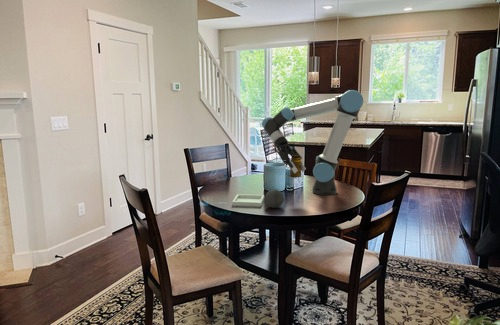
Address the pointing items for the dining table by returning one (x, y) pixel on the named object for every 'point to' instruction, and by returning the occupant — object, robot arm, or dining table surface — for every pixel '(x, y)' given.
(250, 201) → the sage tray
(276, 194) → the decorative ball
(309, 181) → the dining table surface
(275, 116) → the robot arm
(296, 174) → the condiment
